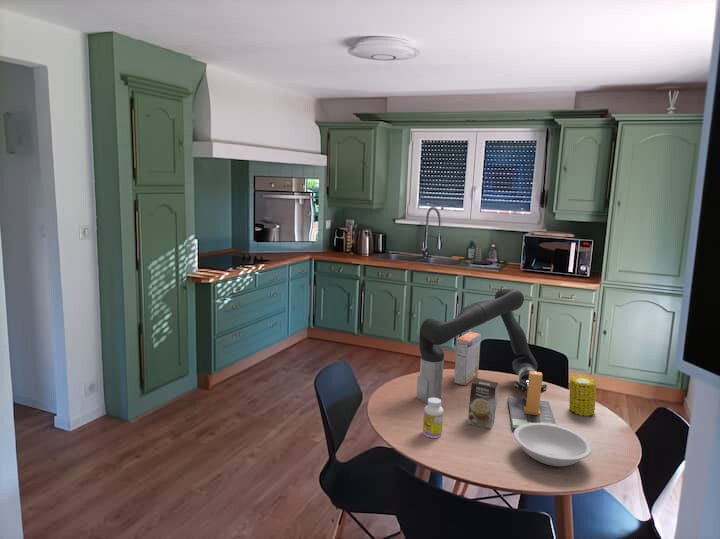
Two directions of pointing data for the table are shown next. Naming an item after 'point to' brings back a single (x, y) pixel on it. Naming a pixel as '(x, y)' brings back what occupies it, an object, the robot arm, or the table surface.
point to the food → (582, 395)
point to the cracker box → (467, 358)
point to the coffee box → (482, 403)
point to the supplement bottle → (433, 418)
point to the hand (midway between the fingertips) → (532, 394)
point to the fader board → (521, 418)
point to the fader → (533, 393)
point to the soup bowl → (552, 443)
